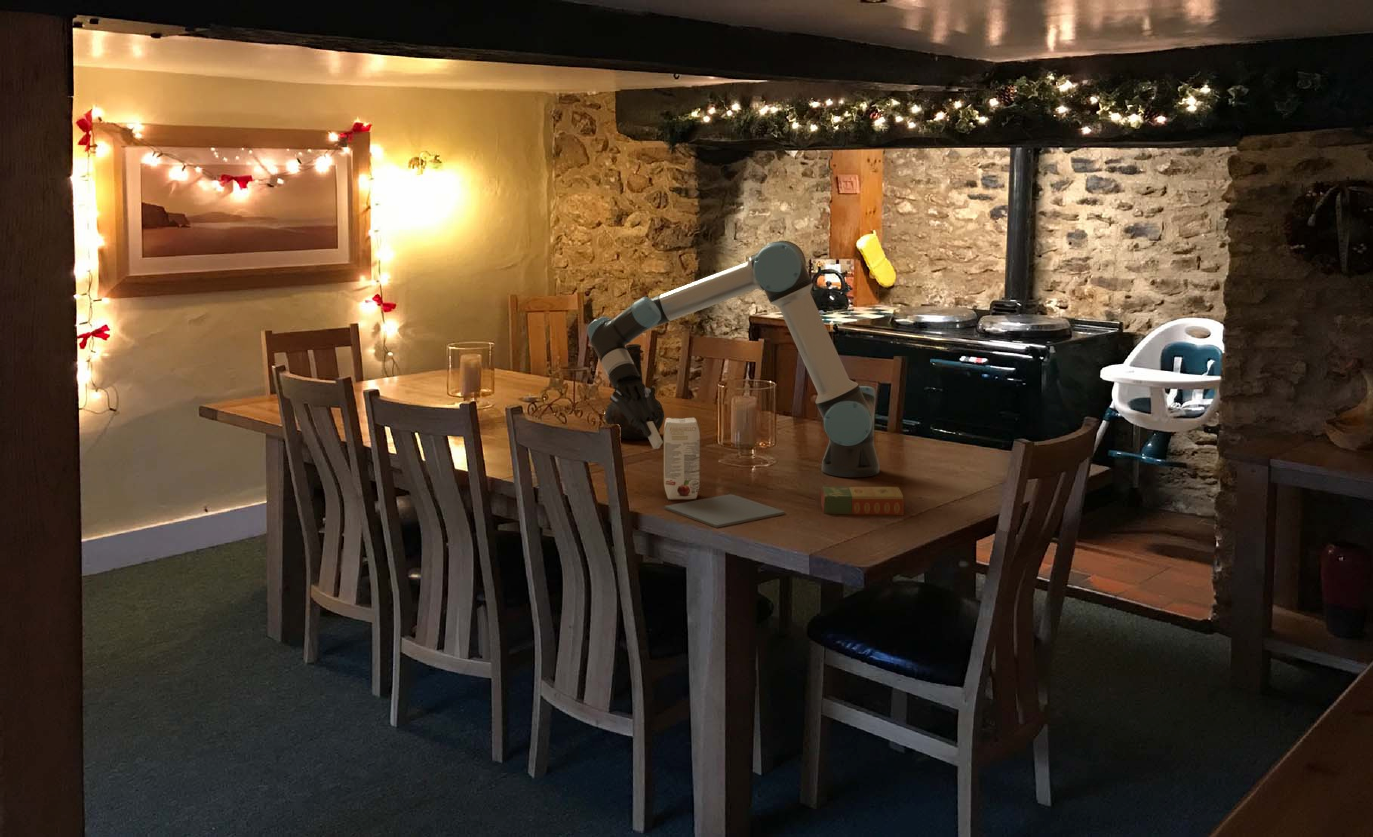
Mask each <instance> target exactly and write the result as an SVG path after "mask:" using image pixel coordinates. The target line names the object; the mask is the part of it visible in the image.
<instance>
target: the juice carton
mask: <svg viewBox="0 0 1373 837" xmlns="http://www.w3.org/2000/svg"><path fill="white" fill-rule="evenodd" d="M700 436H701V435H700V427H699V423H698V421H697V418H695V417H686V418H677V417H676V418H675V417H666V418H665V419H664V426H663V487H664V490H665V494H666V497H667V500H697V497H698V493H699V489H700V456H701V454H700V453H701V452H700V451H701V450H700V448H701V447H700V443H701V442H700V440H701V438H700Z"/></svg>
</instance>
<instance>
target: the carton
mask: <svg viewBox="0 0 1373 837" xmlns="http://www.w3.org/2000/svg"><path fill="white" fill-rule="evenodd" d="M820 496H821V497H820V504H821V507H822V508H821V509H822V511H823V514H832V515H838V514H839V515H888V516H889V515H890V516H892V515H894V516H895V515H897V516H898V515H899V516H901V515H902V516H903V515H904V510H905V509H904V508H905V506H904V504H905V503H904V501H905V500H904V495H903V493H902V491H901V489H900V488H899V486H827V485H824V486H822V488H821V495H820Z"/></svg>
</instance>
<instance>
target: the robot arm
mask: <svg viewBox="0 0 1373 837" xmlns="http://www.w3.org/2000/svg"><path fill="white" fill-rule="evenodd" d="M806 266H807V262H806V257H805V253H804V251H803V250H802V249H801V248H800V246H798V245H797V244H795V243H793V242H792V241H789V240H778V241H773V242H771V243H768V244H766V245H764V246H763V247H762V248H761V249H760V250H759V251H758V252H757V253H755V254H752V255H749V257H748V259H747V261H744V262H742V263H740V264H737V265H734V266H732V267H729V268H727V269H725V270H724V269H723V270H722V271H721V270H720V271H719V272H716V273H713V274H711V275H708V276H705V277H703V278H700V279H697V280H695V281H693V282H689V283H687V284H685V285H682V286H679V287H677V288H674V289H672V290H669V291H666V292H664V293H661V294H659V295H656V296H653V297H651V298H649V297H648V296H643V297H640V299H638V300H636V301H634V302H633V303H632V304H631V305H630V306H628V307H627V308H625V309H624V310H623V311H621V313H619V314H618V315H617V316H615V317H613V318H611V317H609V316H601V317H598V318H597V319H596V318H595V319H593V321H591V322H590V323H589V324H588V325H587V329H586V332H587V337H588V339H589V341H590V344H591V347H593V350H594V351H595V353H596V355H597V357H598V360H599V362H600V363H601V365H602V367H603V370H604V372H605V373H606V376H607V377H608V381H609V383H610V384H611V386H612V388H613V390H614V391H613V393H612V394H611V396H610V397H609V400H610V402H614V403H615V404H616V405H617V406H618V408H619V409H620V410H621V412H622V413H623V414H624V415H625V417H626V418H627V419H628V421H629V422H630V423H631V425H632V426H638V429H642V431H643V433H644V435H645V436H646V437H648V438H647V439H648V440H649V443H650V445H651V446H652V449H653V450H657V449H660V447H661V446H662V444H664V440H663V439H662V436H661V435H660V429H658V427H657V425H656V422H657V421H658V420H659V418H660V415H659V411H658V407H657V403H656V399H657V398H656V388H655V387H651V388H649V387H646V385H645V383H644V382H643V383H642V382H641V380H640V375H639V373H638V371H637V369H636V367H635V365H634V362H633V360H632V359H631V357H630V355H629V353H628V351H627V349H626V345H629V344H631V342H632V341H634V340H635V339H636V338H638V337H639V336H641V335H642V334H644V333H645V332H647V331H650V330H651V329H653V328H656V327H659V326H662V325H664V324H667V323H669V322H671V321H674V320H678V319H680V318H682V317H686V316H687V315H690V314H693V313H696V312H698V311H701V310H704V309H706V308H709V307H712V306H714V305H717V304H720V303H723V302H726V301H728V300H731V299H733V298H736V297H739V296H741V295H744V294H747V293H749V292H753V291H755V290H760V291H762V292H763V291H764V292H765V295H766V296H767V300H768V301H769V303H770V305H773V306H776V307H777V308H779V311H780V313H781V316H783V319H784V322H785V324H786V326H787V328H788V331H789V332H790V335H791V337H792V339H793V342H794V344H795V345H796V348H797V350H798V353H799V354H800V357H801V359H802V361H803V364H804V365H805V367H806V368H805V369H806V371H807V373H808V375H809V377H810V379H811V381H812V383H813V385H814V387H815V390H816V392H817V397H816V399H815V405H816V407H817V409H818V411H819V413H820V416H821V417H822V422H823V429H824V432H825V433H826V435H827V437H828V441H829V442H828V444H827V447H826V449H825V452H824V456H823V458H822V461H821V471H822V472H823V473H825V474H827V475H829V476H834V477H841V478H867V477H872V476H876V475H878V474H879V473H880V462H879V458H878V455H877V451H876V448H875V445H874V444H875V443H874V440H875V437H874V435H875V412H876V411H875V406H876V398H877V396H876V389H875V388H874V387H873V386H866V385H863V386H862V385H859V383H858V382H856V381H853V380H851V379H850V378H849V375H848V373H847V371H846V369H845V366H844V364H843V363H842V359H841V358H840V355H839V354H838V351H837V348H836V346H835V344H834V343H833V340H832V338H831V336H830V334H829V331H828V329H827V327H826V325H825V322H824V321H823V318H822V316H821V314H820V312H819V309H818V306H817V304H816V303H815V301H814V298H813V296H812V294H811V291H812V288H813V286H814V283H813V280H812V279H811V277H810V275H809V272H808V270H807V268H806ZM644 393H645V395H644ZM645 397H647V402H646V400H645Z"/></svg>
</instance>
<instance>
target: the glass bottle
mask: <svg viewBox="0 0 1373 837" xmlns="http://www.w3.org/2000/svg"><path fill="white" fill-rule="evenodd" d="M625 347H626V349H627V351H628V353H629V355H630V357H631V359H632V360H633V362H634V365H635V367H636V369H637V371H638V373H639V375H640V380H641V382H642V383H643V384H644V381H643V380H644V379H643V373H642V371H643V370H642V356H641V354H643V353H644V352H645V351H644V350H642V349H641V347H642V344H637V343H636V344H633V343H628V344H627V345H625ZM644 395H645V393H644ZM645 400H646V402H647V397H645ZM656 403H657V407H658V411H659V415H660V418H659V420H658V421H657V422H656V425H657V427H658V429H659V430H660V429H661V427H662V426H663V423H664V422H665V412H664V409H663V406H662V403H661V402H660V401H659V400H658V399H657V398H656ZM604 413H605V414H604V418H605V419H604V420H605V424H606V425H607V424H619V425H620V427H621V437H620V438H622V439H625V440H643V439H648V437H646V436H645V435H644V433H643V431H642V429H638V426H632V425H631V423H630V422H629V421H628V419H627V418H626V417H625V415H624V414H623V413H622V412H621V410H620V409H619V408H618V406H617V405H616V404H615V403H614V402H612V401H610V402H609V404H608V405H607V407H606V409H605V412H604Z"/></svg>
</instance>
